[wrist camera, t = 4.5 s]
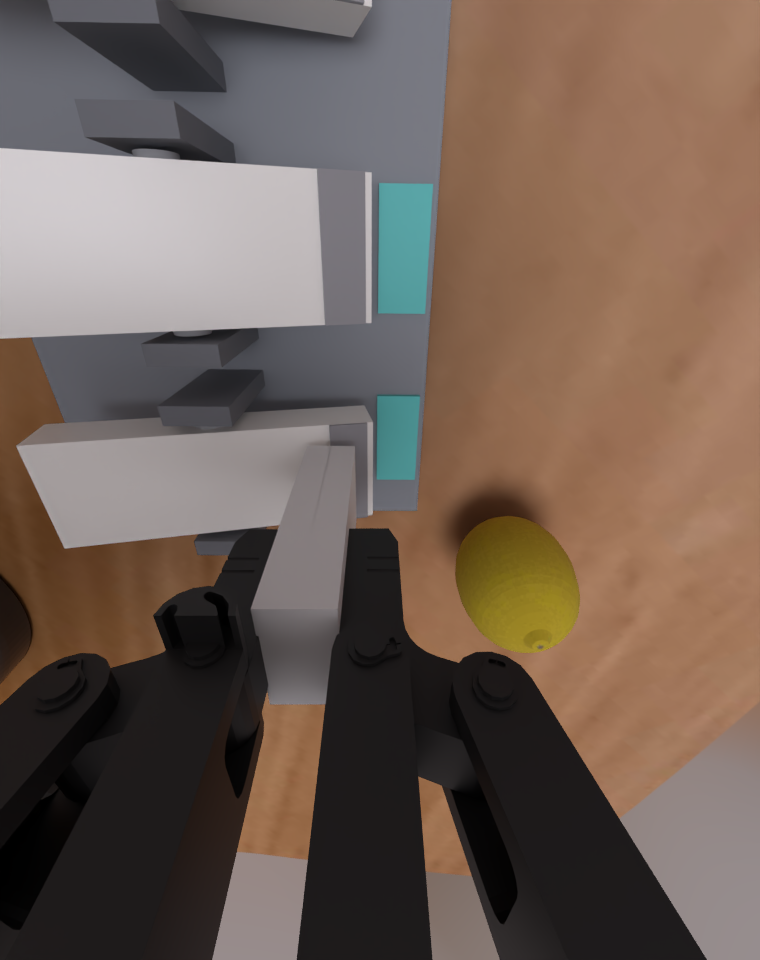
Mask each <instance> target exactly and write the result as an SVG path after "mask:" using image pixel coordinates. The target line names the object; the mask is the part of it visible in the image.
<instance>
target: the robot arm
mask: <svg viewBox="0 0 760 960" xmlns="http://www.w3.org/2000/svg"><path fill="white" fill-rule="evenodd" d="M153 616H154V619H155V622H156V624H157V627H158V630H159V632H160V635H161V638H162V640H163V643H164V646H165V648H166V650H165V652H163V653H161V654H158V655H155V656H152V657H150V658H146V659H143V660H139V661H135V662H132V663H128V664H124V665H120V666H117V667H113V668H110V666H109V664H108V662H107V660H106V659H104V658H103V657H101V656H99V655H97V654H87V653H80V654H76V655H72V656H68V657H64V658H62V659H60V660H58V661H56V662H54V663H52V664H50V665H48V666H46V667H44V668H43V669H41V670H40V671H39V672H37V673H36V674H35V675H33V676H32V677H31V678H29V679H28V680H27V681H26V682H25V683H24V684H23V685H22V686H21V687H19V688H18V689H17V690H16V691H15V692H14V693H13V694H12V695H11V696H10V697H9V698H8V699H7V700H6V701H4V702H3V703H2V704H1V705H0V960H212V957H213V953H214V948H215V944H216V940H217V936H218V931H219V927H220V922H221V918H222V914H223V909H224V905H225V901H226V896H227V892H228V888H229V883H230V879H231V874H232V869H233V865H234V861H235V857H236V853H237V848H238V844H239V839H240V835H241V831H242V826H243V822H244V818H245V813H246V809H247V804H248V800H249V796H250V791H251V787H252V783H253V778H254V774H255V769H256V765H257V761H258V756H259V752H260V748H261V743H262V739H263V732H264V721H263V717H262V709H263V705H264V701H265V697H266V693H267V691H268V696H269V701H270V704H325V713H324V722H323V731H322V740H321V749H320V758H319V767H318V775H317V784H316V793H315V802H314V811H313V820H312V829H311V838H310V847H309V855H308V865H307V873H306V882H305V891H304V901H303V909H302V919H301V926H300V935H299V944H298V954H297V960H432V950H431V938H430V937H431V936H430V923H429V912H428V897H427V885H426V871H425V859H424V846H423V833H422V820H421V807H420V794H419V781H418V776H419V777H421V778H424V779H427V780H429V781H432V782H434V783H437V784H439V785H442V787H443V790H444V793H445V796H446V799H447V802H448V805H449V808H450V811H451V814H452V817H453V820H454V823H455V826H456V829H457V832H458V835H459V838H460V841H461V844H462V847H463V850H464V853H465V856H466V859H467V862H468V865H469V868H470V871H471V874H472V877H473V880H474V883H475V886H476V889H477V892H478V895H479V898H480V901H481V904H482V907H483V910H484V913H485V916H486V919H487V922H488V925H489V928H490V931H491V934H492V937H493V940H494V943H495V946H496V949H497V952H498V955H499V958H500V960H707V959H706V958H705V956H704V954H703V953H702V951H701V950H700V948H699V946H698V945H697V943H696V941H695V940H694V938H693V937H692V935H691V933H690V932H689V930H688V929H687V927H686V926H685V924H684V922H683V921H682V919H681V917H680V916H679V914H678V913H677V911H676V909H675V908H674V906H673V904H672V903H671V901H670V900H669V898H668V896H667V895H666V894H665V892H664V890H663V888H662V887H661V885H660V884H659V882H658V880H657V879H656V877H655V876H654V874H653V872H652V871H651V869H650V868H649V866H648V864H647V863H646V861H645V860H644V858H643V856H642V855H641V853H640V852H639V850H638V848H637V847H636V845H635V843H634V842H633V840H632V839H631V837H630V836H629V834H628V832H627V831H626V829H625V827H624V826H623V824H622V823H621V821H620V819H619V818H618V816H617V815H616V813H615V811H614V810H613V808H612V807H611V805H610V803H609V802H608V800H607V798H606V797H605V795H604V794H603V792H602V790H601V789H600V787H599V786H598V784H597V782H596V781H595V779H594V778H593V776H592V774H591V773H590V771H589V770H588V768H587V766H586V765H585V763H584V762H583V760H582V758H581V757H580V755H579V754H578V752H577V750H576V749H575V747H574V745H573V744H572V742H571V741H570V739H569V737H568V736H567V734H566V733H565V731H564V729H563V728H562V726H561V725H560V723H559V721H558V720H557V718H556V717H555V715H554V713H553V712H552V710H551V709H550V707H549V705H548V704H547V702H546V701H545V699H544V697H543V696H542V694H541V692H540V691H539V689H538V688H537V686H536V684H535V683H534V681H533V680H532V678H531V677H530V676H529V675H528V673H527V672H526V671H525V670H524V669H523V668H522V667H521V665H519V664H518V663H516V662H514V661H513V660H511V659H510V658H508V657H507V656H504V655H500V654H497V653H493V652H475V653H473V654H471V655H469V656H466V657H464V658H463V659H462V660H461V661H460V663H457V662H454V661H450V660H447V659H444V658H440V657H437V656H435V655H432V654H430V653H428V652H426V651H424V650H423V649H421V648H420V647H418V646H417V645H416V644H415V643H414V642H413V641H412V640H411V638H410V637H409V635H408V633H407V631H406V630H405V626H404V621H403V608H402V594H401V580H400V567H399V553H398V541H397V540H396V538H395V537H394V536H393V534H392V533H391V531H390V530H389V529H356V472H355V446H307V447H306V450H305V453H304V456H303V459H302V462H301V465H300V468H299V471H298V473H297V476H296V479H295V482H294V485H293V488H292V491H291V494H290V497H289V499H288V502H287V505H286V508H285V511H284V514H283V517H282V520H281V523H280V526H279V528H278V530H272V529H249V530H248V531H247V532H246V533H245V534H244V535H243V536H241V537H240V538H239V539H238V540H237V541H236V542H235V543H234V545H233V547H232V550H231V552H230V554H229V556H228V560H227V561H226V562H225V564H224V566H223V568H222V573H220V575H219V577H218V579H217V581H216V583H215V585H214V587H211V586H206V587H199V588H193V589H190V590H187V591H185V592H182V593H179V594H177V595H176V596H174V597H173V598H171V599H170V600H168V601H167V602H165V603H164V604H163V605H162V606H161V607H160V608H159V610H158V611H157V612H156V613H155V614H154V615H153ZM30 640H31V629H30V624H29V621H28V618H27V615H26V613H25V611H24V609H23V607H22V605H21V604H20V602H19V600H18V599H17V598H16V596H15V595H14V594H13V592H12V591H11V590H10V589H9V588H8V586H7V585H6V584H5V583H4V582H3V581H2V580H1V579H0V684H1V682H2V681H3V680H4V679H5V678H6V677H7V676H8V674H9V673H10V672H11V671H12V670H13V669H14V667H15V666H16V665H17V664H18V663H19V662H20V661H21V659H22V658H23V657H24V656H25V654H26V652H27V650H28V648H29V645H30Z"/></svg>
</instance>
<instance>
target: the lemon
mask: <svg viewBox="0 0 760 960" xmlns="http://www.w3.org/2000/svg"><path fill="white" fill-rule="evenodd" d="M455 575H456V583H457V587H458V591H459V595H460V598H461V601H462V604H463V606H464V608H465V610H466V612H467V614H468V615H469V617H470V618H471V620H472V621H473V623H474V624H475V626H476V627H477V628H478V630H479V631H480V632H481V633H482V634H483V635H484V636H485V637H487V638H488V639H489V640H491V641H492V642H493V643H494V644H496V645H498V646H500V647H503V648H505V649H507V650H511V651H515V652H520V653H534V652H540V651H544V650H547V649H549V648H551V647H553V646H555V645H557V644H558V643H559V642H561V641H562V640H563V639H564V638H565V637H566V636H567V634H568V633H569V632H570V631H571V630H572V628H573V626H574V624H575V622H576V619H577V617H578V613H579V605H580V594H579V587H578V583H577V579H576V575H575V572H574V569H573V566H572V563H571V561H570V559H569V557H568V555H567V554H566V552H565V551H564V549H563V548H562V547H561V545H560V544H559V543H558V541H557V540H556V539H555V538H554V537H553V536H552V535H551V534H550V533H549V532H548V531H546V530H545V529H544V528H542V527H541V526H539V525H538V524H536V523H534V522H532V521H529V520H527V519H524V518H521V517H514V516H502V517H495V518H492V519H488V520H486V521H484V522H482V523H480V524H478V525H477V526H476V527H475V528H473V529H472V530H471V531H470V532H469V533H468V535H467V536H466V537H465V538H464V540H463V541H462V543H461V546H460V548H459V551H458V554H457V558H456V572H455Z"/></svg>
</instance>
